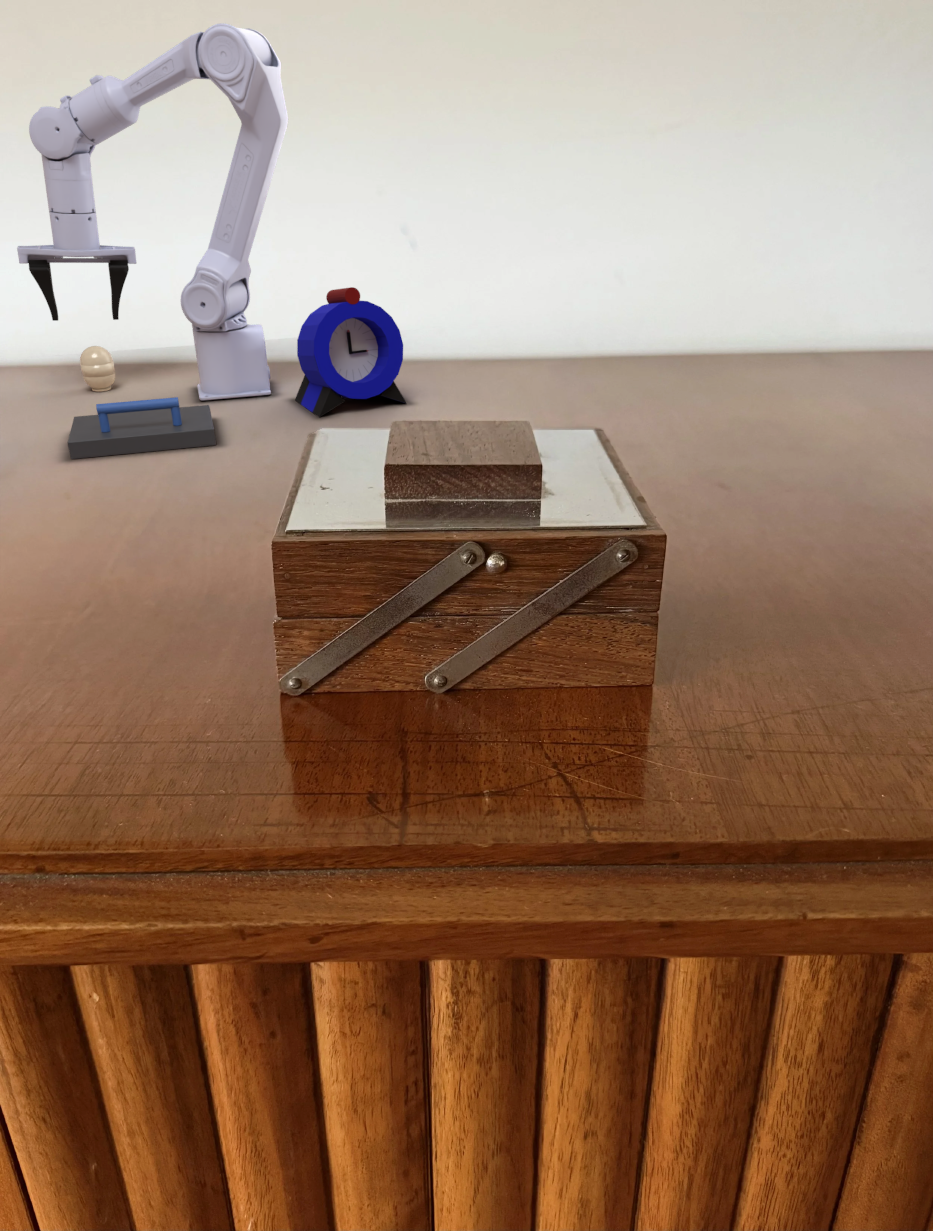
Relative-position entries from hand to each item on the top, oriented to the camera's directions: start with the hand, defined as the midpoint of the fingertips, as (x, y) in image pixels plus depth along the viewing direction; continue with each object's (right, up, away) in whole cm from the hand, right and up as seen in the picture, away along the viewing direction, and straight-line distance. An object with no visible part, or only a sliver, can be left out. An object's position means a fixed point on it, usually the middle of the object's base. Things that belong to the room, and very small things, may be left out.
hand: (85, 318), depth 134 cm
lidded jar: (0, -8, +5) cm, 10 cm away
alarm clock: (+36, -12, -3) cm, 38 cm away
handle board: (+14, -19, -17) cm, 29 cm away
